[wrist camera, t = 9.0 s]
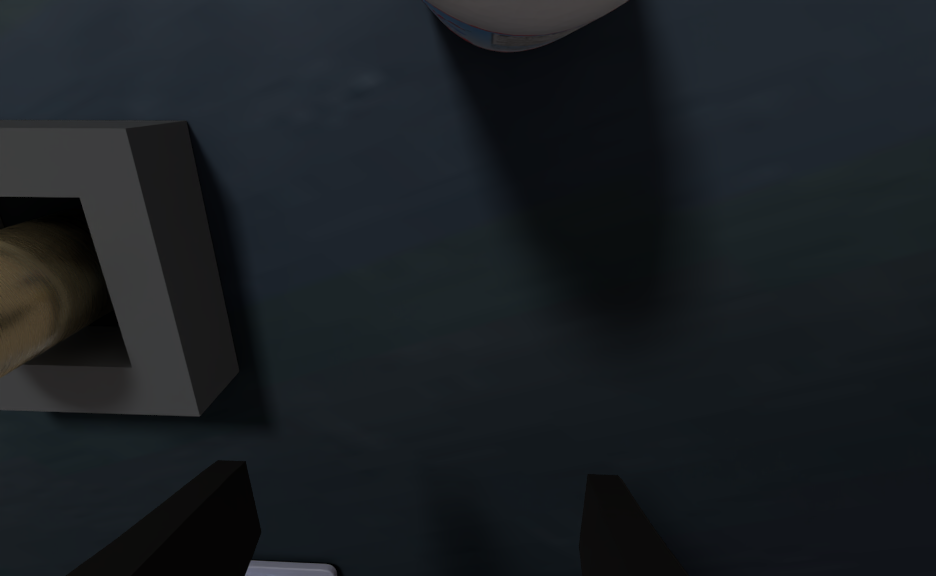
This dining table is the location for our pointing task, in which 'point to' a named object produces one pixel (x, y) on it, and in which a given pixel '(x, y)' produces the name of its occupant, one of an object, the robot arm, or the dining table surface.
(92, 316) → the brass cylinder
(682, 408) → the dining table surface
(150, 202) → the coupling block
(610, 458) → the dining table surface
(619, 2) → the pill bottle
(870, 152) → the dining table surface
